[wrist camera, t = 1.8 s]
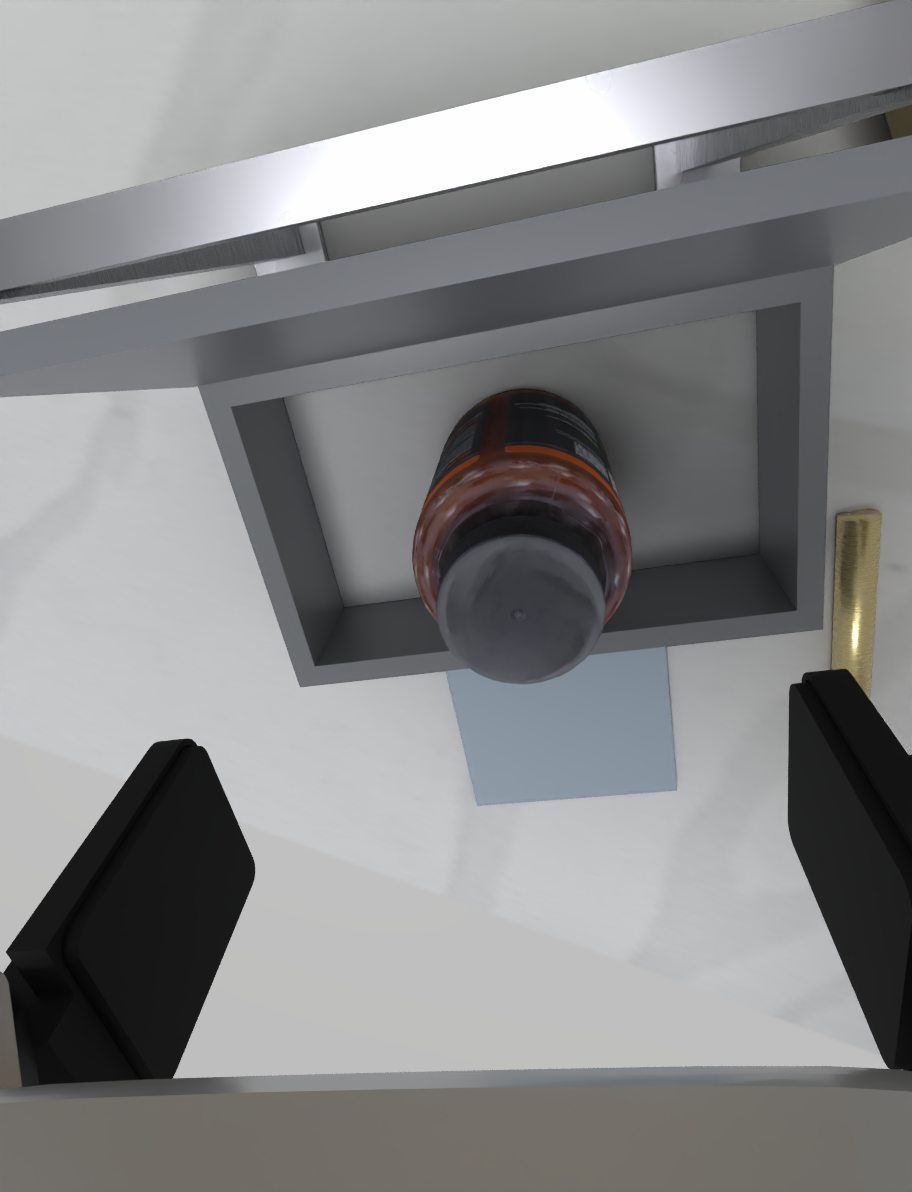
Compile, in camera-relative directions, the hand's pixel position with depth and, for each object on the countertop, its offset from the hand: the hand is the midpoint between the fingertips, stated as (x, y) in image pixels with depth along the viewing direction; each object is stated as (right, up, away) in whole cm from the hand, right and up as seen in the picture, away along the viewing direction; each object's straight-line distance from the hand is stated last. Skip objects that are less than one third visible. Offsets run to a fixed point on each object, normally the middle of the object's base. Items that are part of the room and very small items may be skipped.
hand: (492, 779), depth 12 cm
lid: (0, +9, +3) cm, 9 cm away
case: (+2, +8, +15) cm, 17 cm away
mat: (+4, -2, +20) cm, 20 cm away
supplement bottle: (+2, +8, +15) cm, 17 cm away
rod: (+15, 0, +16) cm, 22 cm away
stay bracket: (0, +15, +11) cm, 19 cm away
